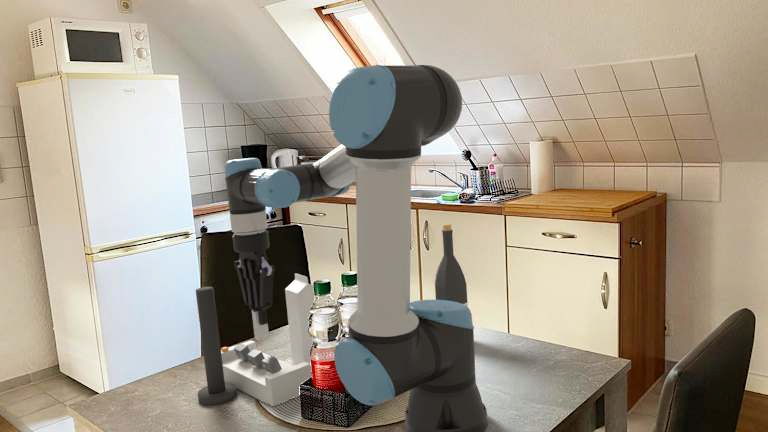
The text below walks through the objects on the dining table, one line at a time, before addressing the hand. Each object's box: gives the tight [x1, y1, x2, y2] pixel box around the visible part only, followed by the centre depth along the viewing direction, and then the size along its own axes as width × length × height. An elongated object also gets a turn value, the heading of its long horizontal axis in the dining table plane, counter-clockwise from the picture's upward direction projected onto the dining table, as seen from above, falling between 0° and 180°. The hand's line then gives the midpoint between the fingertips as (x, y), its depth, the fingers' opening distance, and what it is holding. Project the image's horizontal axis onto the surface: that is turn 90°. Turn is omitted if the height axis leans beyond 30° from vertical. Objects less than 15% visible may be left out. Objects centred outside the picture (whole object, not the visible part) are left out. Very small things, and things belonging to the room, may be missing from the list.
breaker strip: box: [221, 340, 312, 407], centre depth 142 cm, size 24×10×7 cm, turn 43°
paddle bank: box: [234, 342, 282, 374], centre depth 141 cm, size 18×2×4 cm, turn 43°
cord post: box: [195, 286, 238, 407], centre depth 136 cm, size 8×8×24 cm
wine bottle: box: [434, 223, 469, 308], centre depth 156 cm, size 8×8×30 cm
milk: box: [284, 273, 314, 367], centre depth 150 cm, size 6×6×22 cm
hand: (262, 337), depth 139 cm, fingers closed
